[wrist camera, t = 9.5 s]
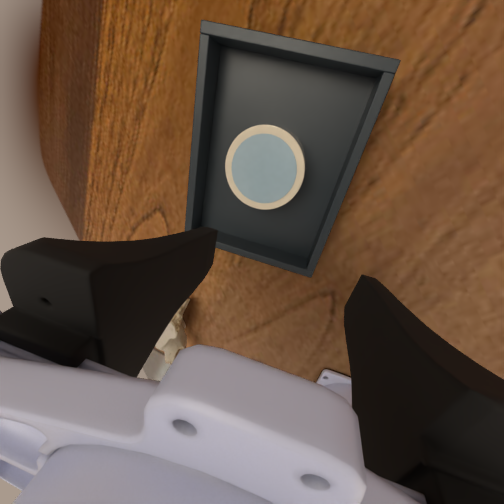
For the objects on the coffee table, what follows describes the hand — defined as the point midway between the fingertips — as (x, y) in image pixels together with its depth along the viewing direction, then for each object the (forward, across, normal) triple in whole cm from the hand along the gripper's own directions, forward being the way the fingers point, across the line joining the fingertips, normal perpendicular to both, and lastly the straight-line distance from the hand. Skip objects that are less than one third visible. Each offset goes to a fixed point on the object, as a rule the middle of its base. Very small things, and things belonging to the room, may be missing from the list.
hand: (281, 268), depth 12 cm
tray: (+9, +3, -3) cm, 10 cm away
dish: (+9, +3, -3) cm, 10 cm away
